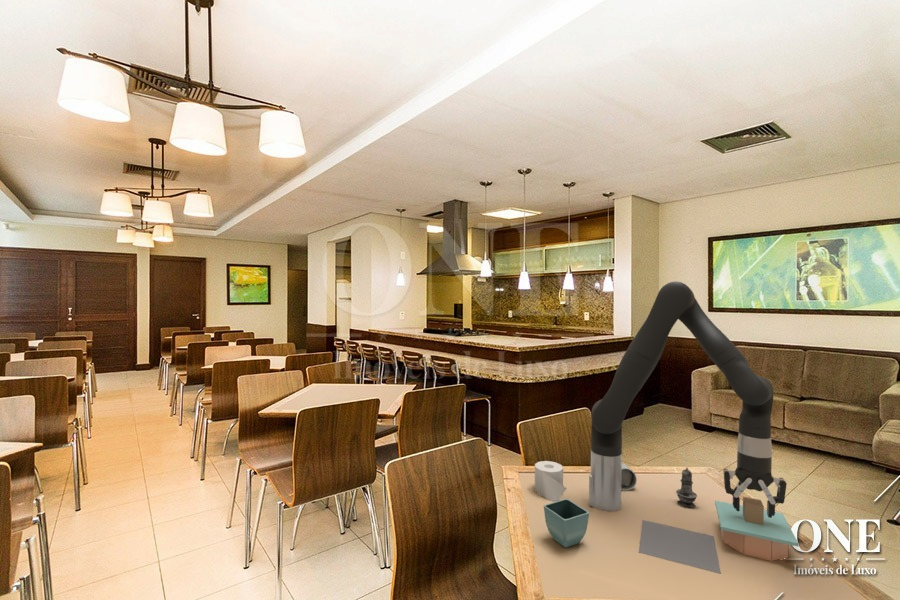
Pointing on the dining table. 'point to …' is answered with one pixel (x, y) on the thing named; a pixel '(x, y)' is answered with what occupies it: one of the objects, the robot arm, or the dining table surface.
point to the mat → (679, 546)
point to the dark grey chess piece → (686, 491)
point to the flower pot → (566, 522)
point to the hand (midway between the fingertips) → (753, 512)
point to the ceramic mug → (627, 478)
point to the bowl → (755, 546)
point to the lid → (754, 521)
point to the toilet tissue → (549, 480)
